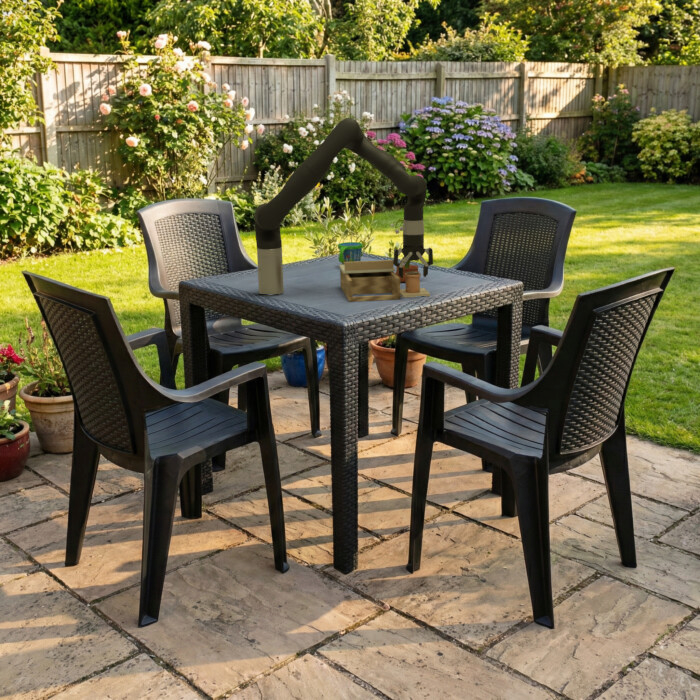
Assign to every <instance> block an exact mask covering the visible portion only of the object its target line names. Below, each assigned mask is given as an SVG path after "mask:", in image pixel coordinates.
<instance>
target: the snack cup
mask: <svg viewBox="0 0 700 700" xmlns="http://www.w3.org/2000/svg"><path fill="white" fill-rule="evenodd" d="M337 247H338V250H339V254H338V261H339V262H340V263H341V265H344V262H356V261H361V259H362V257H363V247H364V243H362V242H355V241H347V242H342V243H341V242H340V243H338V244H337Z"/></svg>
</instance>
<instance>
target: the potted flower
mask: <svg viewBox="0 0 700 700" xmlns="http://www.w3.org/2000/svg"><path fill="white" fill-rule="evenodd" d="M400 222H401V224H400V226H399V228H395V230H394V233H395V234H396V235H397V234H399V233H401V231H402V232H403V222H404V217H399V219H398V220H396V222H395V221H394V222H392V223H391V224H390V227H391V228H394V227H397V225H398V223H400ZM394 223H395V224H394ZM402 246H403V243H400V247H399V248H398V249H401V250H402V248H403V247H402ZM407 272H419V266H418V265H415V264H411V261H409V260H407V262H406V263H405V264H404V265H403V278H401V277H400V276H399V268H398V267H397V266H395V272H394V273H395V274H396V275H397V276H398V277H399V278H400V283H406V277H405V273H407ZM419 273H420V272H419Z"/></svg>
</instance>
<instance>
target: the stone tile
mask: <svg viewBox="0 0 700 700" xmlns="http://www.w3.org/2000/svg"><path fill="white" fill-rule="evenodd" d="M416 296H417V297H416ZM418 296H426V297H431V293H430V292H429V291H428V290H427V289H426V288H425V287H424V288H423V287H420V292H418V293H407V292H406V288H403V289H402V288H400V297H401V298H403V297H405V298H419V297H418Z"/></svg>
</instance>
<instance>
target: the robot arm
mask: <svg viewBox="0 0 700 700" xmlns="http://www.w3.org/2000/svg"><path fill="white" fill-rule="evenodd" d="M344 148H345V149H347V150H348V151H350V152H352V153H353V154H355V155H358V157H361V158H363V159H364V160H365V161H367V162H368V163H369V164H371V165H372V167H374V168H375V169H376V170H377V171H378V172H380V173H381V174H382V175H383V176H385V177H386V178H387V179H389V181H391V182H392V183H393V185H394V186H395V187H396V189H397V190H398V191H399V192H400V193H401V194H403V195H404V196H406V197H408V198H407V202H406V203H405V204H404V206H403V220H404V222H403V221H402V222H403V223H402V226H403V231H402V247H401V248H402V250H401V249H399V248H394V250H393V259H392V260H393V266H395V267H398V268H399V276H400V277H401V278H403V265H405V264H406V262H407V260H409V261H410V262H413V261H414V262H415V261H417V262H418V261H420V263H422V264H423V267H422V268H423V269H422V271H423V272H422V275H423V278H426V277H427V276H428V275H429V266H433V264H434V254H433V253H434V251H433V248H432V247H427V248H425V245H424V244H425V243H424V241H425V240H424V239H425V237H424V235H425V224H424V206H425V201H426V197H427V190H428V189H427V182H426V179H425V178H424V177H422V175H410V174H409V173H408V172H407V171H406V167H405V165H403V164H402V163H401V162H400V161H399V160H398V159H397V158H395V157H394V156H392V155H391V154H389V153H388V152H387V151H385V150H383V149H381V148H379V147H377V146H376V145H375V144H374V143H372V141H370V140H369V138H367V136H366V134H365V133H364V132H363V130H362V128H361V126H360V124H359V123H358V121H357V120H356V119H354V118H352V117H347V118H343V119H341V120H340V121H339V122H337V124H335V127H334V128H332V129H331V131H330V133H329V134H328V135H327V137H326V138H325V139H324V140H323V141H322V142H321V144H320V145H319V146H317V148H316V149H314V151H313V152H312V153H311V154H310V155H309V156H308V157H307V158H306V159H305V160H304V161H302V163H301V164H300V165H299V166H297V168H296V169H295V170H294V171H293V173H292V174H291V175H290V177H289V178H288V179H287V181H286V182H285V183H284V186H283V187H282V189H280V191H279V192H278V193H277V194H276V195H275V196H274V197H273V198H272V199H270V201H269V202H264V203H261V204H260V205H258V207H256V209H255V211H254V230H255V231H254V232H255V243H256V257H257V280H258V283H257V284H258V294H259V293H260V294H279V295H282V294H281V293H283V292H285V290H284V289H285V287H284V272H283V271H284V268H283V244H282V235H281V223H282V222H283V220H284V219H285V218H286V216H288V214H289V213H290V212H291V210H293V208H294V207H295V206H296V205H297V204H298V203H299V202H300V201H302V200H303V199H304V198H306V196H307V195H308V194H310V193H311V191H312V190H314V189H315V187H317V185H318V184H319V183H320V182H322V180H323V179H325V177H326V175H327V173H328V171H329V169H330V168H331V165H332V163H333V162H334V160H335V158H336V157H337V156H338V154H339V153H340V152H342V150H344ZM425 253H426V255H428V257H427V258H428V260H427V261H426V260H425V258H424V257H423V255H424V254H425ZM401 254H402V255H403V257H402V258H401V259H400V261H399V256H400V255H401ZM283 294H284V293H283Z"/></svg>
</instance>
